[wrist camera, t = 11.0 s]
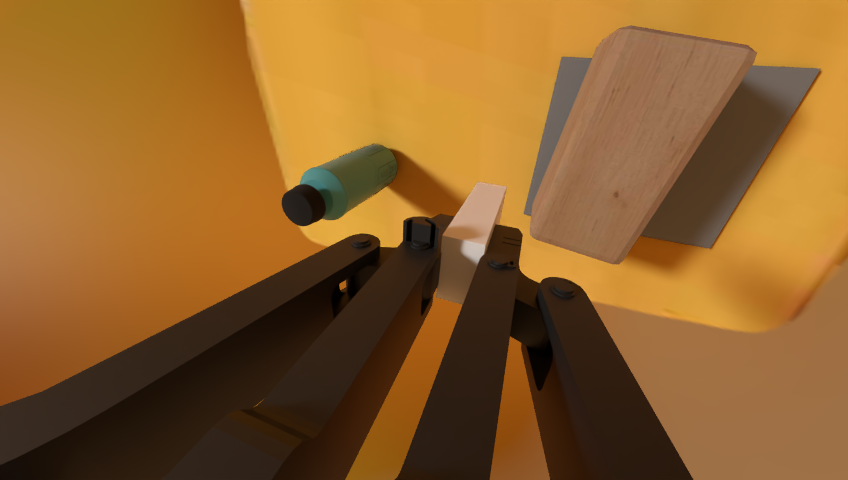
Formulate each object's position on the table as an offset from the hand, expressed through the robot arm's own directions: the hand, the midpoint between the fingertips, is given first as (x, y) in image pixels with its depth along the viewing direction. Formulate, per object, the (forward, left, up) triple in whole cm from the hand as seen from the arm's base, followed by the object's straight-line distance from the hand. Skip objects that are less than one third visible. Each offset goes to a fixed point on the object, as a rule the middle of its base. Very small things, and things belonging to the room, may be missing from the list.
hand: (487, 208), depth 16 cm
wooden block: (-10, +11, -21) cm, 26 cm away
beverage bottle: (+7, -19, -27) cm, 34 cm away
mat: (+1, +14, -27) cm, 30 cm away
